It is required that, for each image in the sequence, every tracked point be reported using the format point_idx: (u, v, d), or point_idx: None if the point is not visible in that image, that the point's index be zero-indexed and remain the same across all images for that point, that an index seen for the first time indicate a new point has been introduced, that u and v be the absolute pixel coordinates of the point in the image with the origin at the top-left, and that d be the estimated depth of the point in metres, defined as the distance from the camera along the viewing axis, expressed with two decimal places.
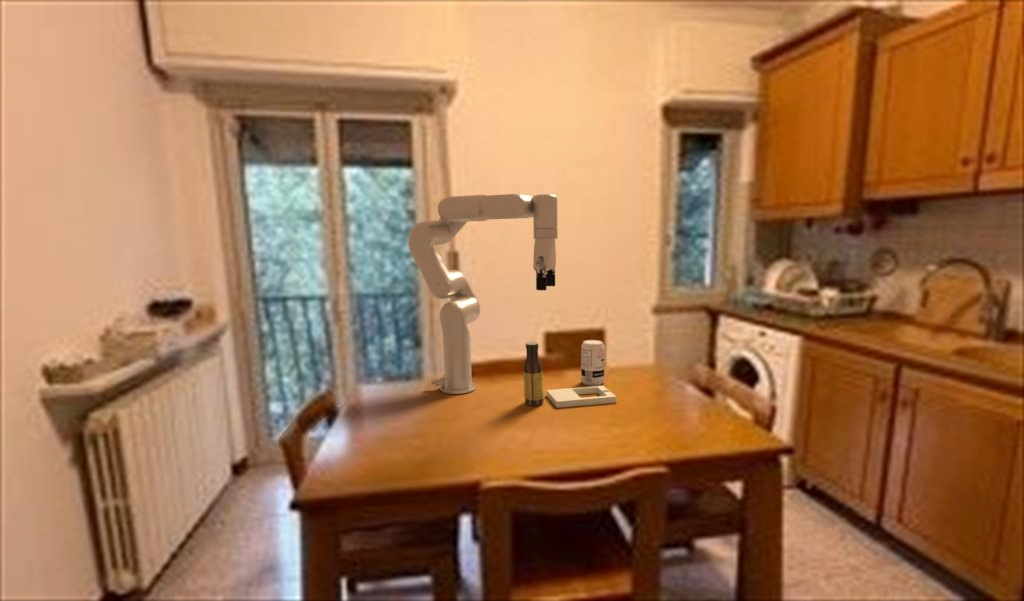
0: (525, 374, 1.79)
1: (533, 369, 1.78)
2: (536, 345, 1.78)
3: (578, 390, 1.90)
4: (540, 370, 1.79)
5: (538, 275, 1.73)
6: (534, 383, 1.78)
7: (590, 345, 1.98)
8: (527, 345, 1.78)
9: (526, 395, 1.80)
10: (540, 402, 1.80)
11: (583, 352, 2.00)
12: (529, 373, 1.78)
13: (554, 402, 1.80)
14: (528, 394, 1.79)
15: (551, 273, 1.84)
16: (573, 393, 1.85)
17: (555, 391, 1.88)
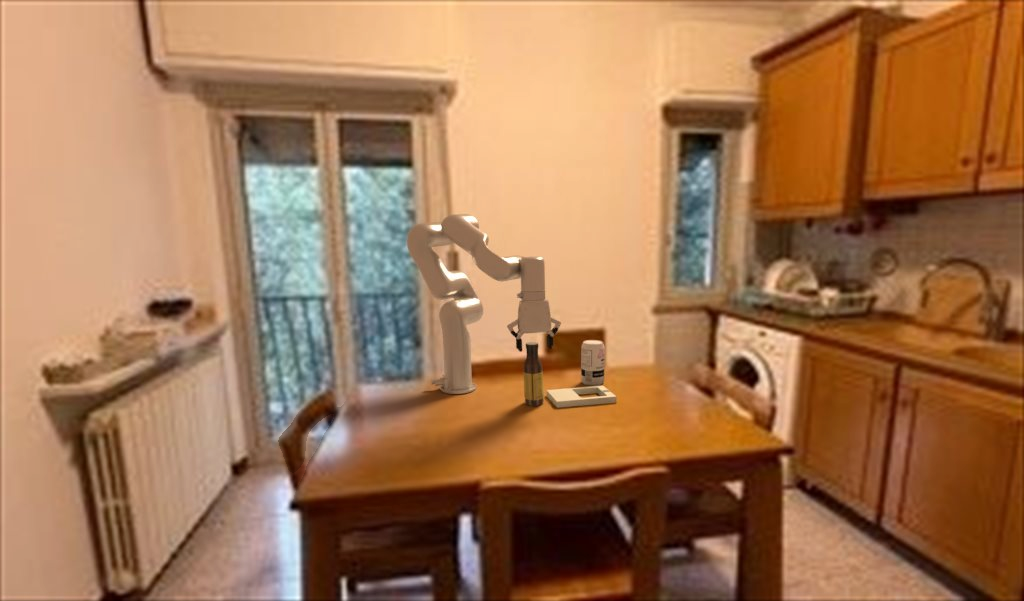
0: (525, 374, 1.79)
1: (533, 369, 1.78)
2: (536, 345, 1.78)
3: (578, 390, 1.90)
4: (540, 370, 1.79)
5: None
6: (534, 383, 1.78)
7: (590, 345, 1.98)
8: (527, 345, 1.78)
9: (526, 395, 1.80)
10: (540, 402, 1.80)
11: (583, 352, 2.00)
12: (529, 373, 1.78)
13: (554, 402, 1.80)
14: (528, 394, 1.79)
15: None
16: (573, 393, 1.85)
17: (555, 391, 1.88)
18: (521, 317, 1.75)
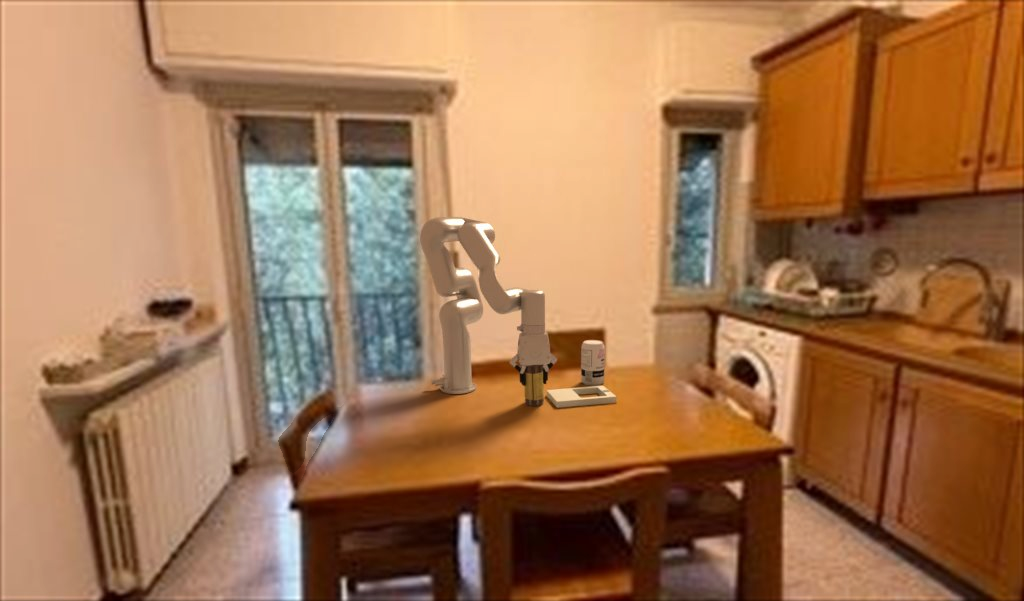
0: (525, 374, 1.79)
1: (534, 369, 1.78)
2: None
3: (578, 390, 1.90)
4: (541, 370, 1.79)
5: None
6: (534, 383, 1.78)
7: (590, 345, 1.98)
8: None
9: (526, 395, 1.80)
10: (540, 402, 1.80)
11: (583, 352, 2.00)
12: (530, 373, 1.78)
13: (554, 402, 1.80)
14: (529, 394, 1.79)
15: None
16: (573, 393, 1.85)
17: (555, 391, 1.88)
18: (521, 350, 1.76)
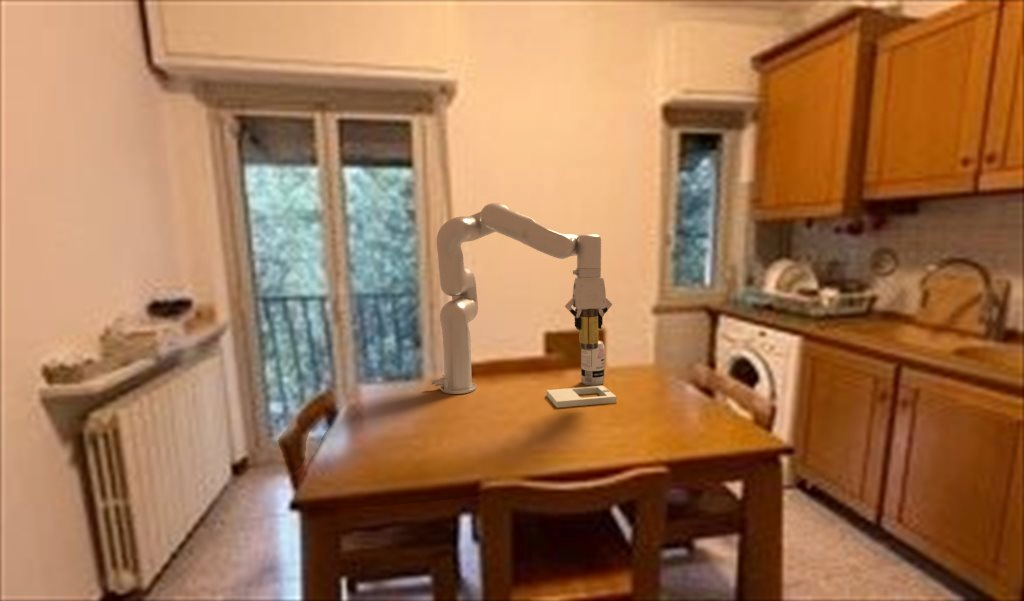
0: (581, 318, 1.80)
1: (590, 313, 1.79)
2: None
3: (578, 390, 1.90)
4: (596, 314, 1.80)
5: None
6: (590, 327, 1.79)
7: None
8: None
9: (581, 339, 1.81)
10: (595, 346, 1.81)
11: (583, 352, 2.00)
12: (585, 317, 1.79)
13: (554, 402, 1.80)
14: (584, 338, 1.80)
15: None
16: (573, 393, 1.85)
17: (555, 391, 1.88)
18: (577, 293, 1.77)
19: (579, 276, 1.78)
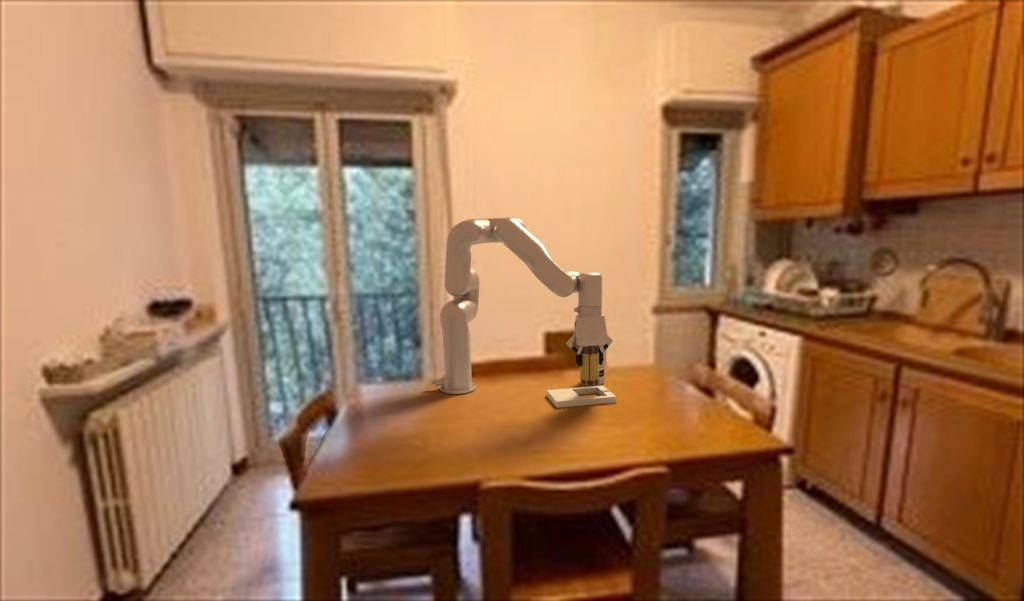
0: (582, 355, 1.82)
1: (591, 350, 1.81)
2: None
3: (578, 390, 1.90)
4: (597, 351, 1.82)
5: None
6: (591, 364, 1.81)
7: None
8: None
9: (582, 375, 1.83)
10: (596, 382, 1.83)
11: None
12: (586, 354, 1.81)
13: (554, 402, 1.80)
14: (585, 374, 1.82)
15: None
16: (573, 393, 1.85)
17: (555, 391, 1.88)
18: (578, 331, 1.79)
19: (580, 314, 1.80)
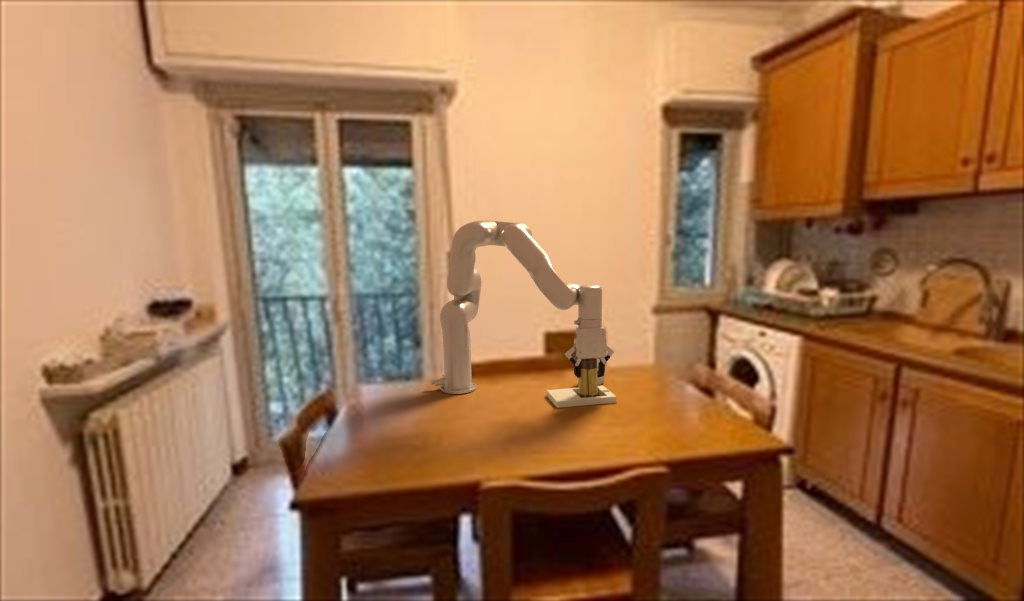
0: (580, 370, 1.83)
1: (589, 365, 1.82)
2: None
3: (578, 390, 1.90)
4: (595, 366, 1.83)
5: None
6: (589, 379, 1.82)
7: None
8: None
9: (581, 390, 1.84)
10: None
11: None
12: (585, 369, 1.82)
13: (554, 402, 1.80)
14: (583, 389, 1.83)
15: None
16: (573, 393, 1.85)
17: (555, 391, 1.88)
18: (578, 343, 1.80)
19: (580, 326, 1.81)
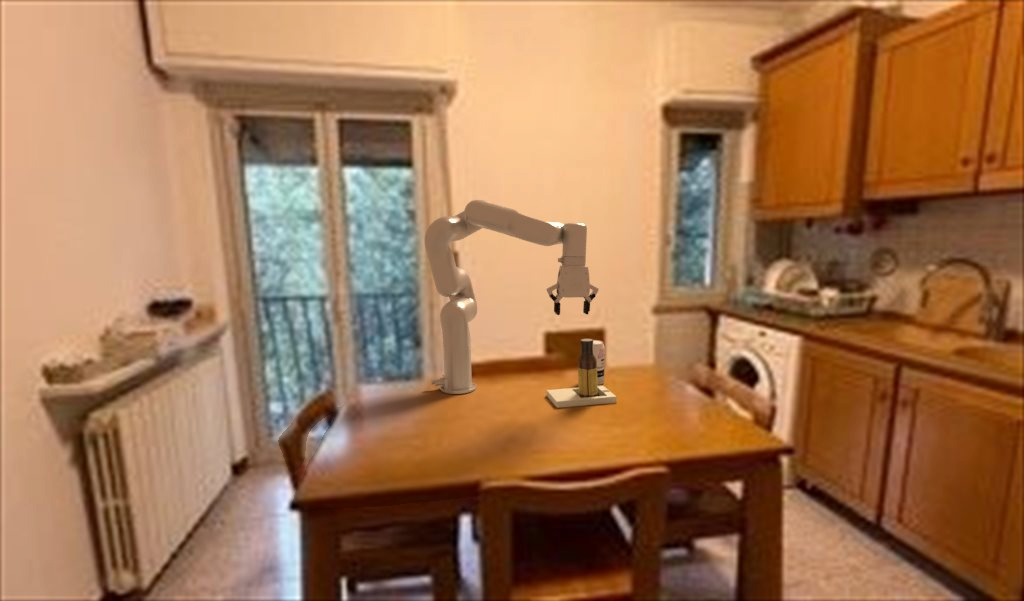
0: (580, 370, 1.83)
1: (589, 365, 1.81)
2: (591, 341, 1.82)
3: (578, 390, 1.90)
4: (595, 366, 1.83)
5: None
6: (589, 379, 1.82)
7: None
8: (582, 341, 1.82)
9: (581, 390, 1.84)
10: None
11: None
12: (585, 369, 1.82)
13: (554, 402, 1.80)
14: (583, 389, 1.83)
15: None
16: (573, 393, 1.85)
17: (555, 391, 1.88)
18: (561, 281, 1.79)
19: (564, 264, 1.79)
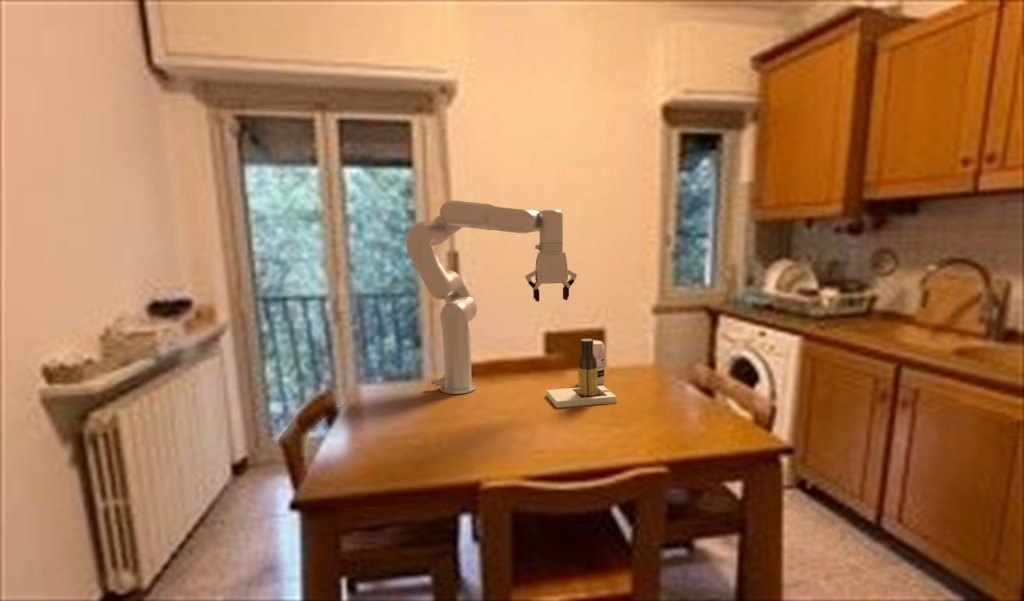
0: (580, 370, 1.83)
1: (589, 365, 1.82)
2: (591, 341, 1.82)
3: (578, 390, 1.90)
4: (595, 366, 1.83)
5: None
6: (589, 379, 1.82)
7: None
8: (582, 341, 1.82)
9: (581, 390, 1.84)
10: None
11: None
12: (585, 369, 1.82)
13: (554, 402, 1.80)
14: (583, 389, 1.83)
15: None
16: (573, 393, 1.85)
17: (555, 391, 1.88)
18: (539, 267, 1.81)
19: (541, 251, 1.81)
